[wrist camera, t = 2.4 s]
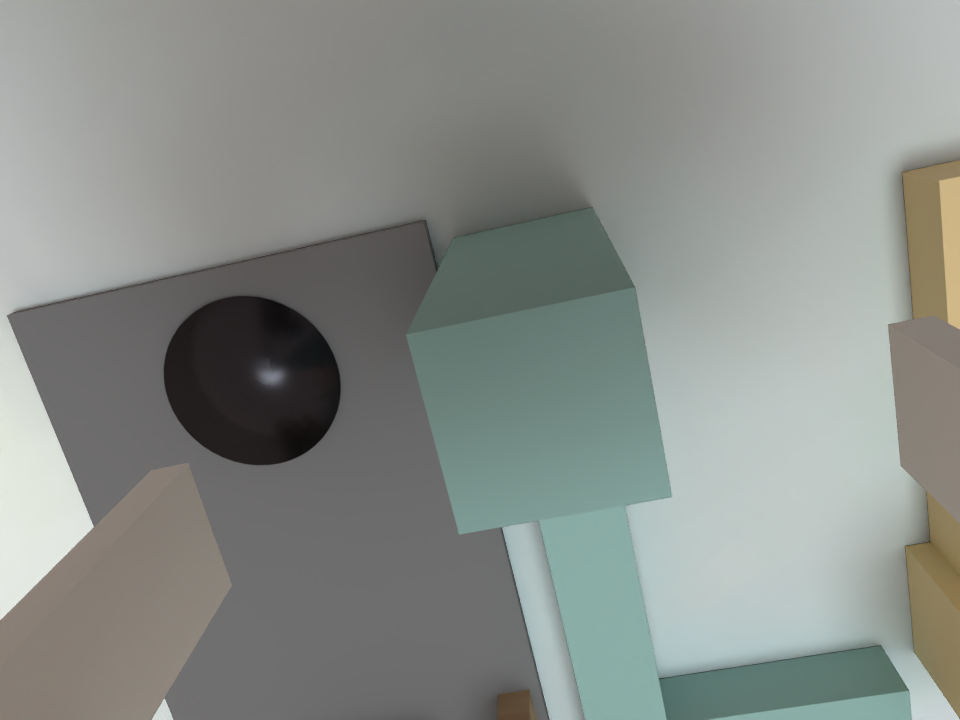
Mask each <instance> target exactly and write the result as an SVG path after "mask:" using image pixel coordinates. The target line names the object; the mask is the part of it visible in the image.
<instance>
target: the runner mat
mask: <svg viewBox="0 0 960 720" xmlns="http://www.w3.org/2000/svg"><path fill="white" fill-rule="evenodd" d="M437 271H438V269H437V265H436V261H435V257H434V253H433V249H432V245H431V241H430V237H429V233H428V229H427V225H426V221H425V220H424V221H419V222H415V223H410V224H406V225H401V226H397V227H392V228H388V229H383V230H379V231H375V232H370V233H366V234H361V235H357V236H352V237H348V238H343V239H339V240H334V241H330V242H326V243H321V244H317V245H312V246H308V247H303V248H299V249H294V250H290V251H285V252H281V253H277V254H272V255H268V256H263V257H259V258H254V259H250V260H245V261H241V262H236V263H232V264H228V265H223V266H219V267H214V268H210V269H205V270H201V271H196V272H192V273H187V274H183V275H179V276H174V277H170V278H165V279H161V280H156V281H152V282H147V283H143V284H138V285H134V286H130V287H125V288H121V289H116V290H112V291H107V292H103V293H98V294H94V295H90V296H85V297H81V298H76V299H72V300H67V301H63V302H58V303H54V304H49V305H45V306H41V307H36V308H32V309H27V310H23V311H18V312H14V313H12V314H9V315H7V317H8V319H9V322H10V324H11V327H12V329H13V331H14V334H15V336H16V339H17V341H18V343H19V346H20V348H21V351H22V353H23V356H24V358H25V360H26V363H27V365H28V368H29V370H30V373H31V375H32V377H33V380H34V382H35V385H36V387H37V390H38V392H39V394H40V397H41V399H42V402H43V404H44V406H45V409H46V411H47V414H48V416H49V419H50V421H51V423H52V426H53V428H54V431H55V433H56V436H57V438H58V440H59V443H60V445H61V448H62V450H63V453H64V455H65V457H66V460H67V462H68V465H69V467H70V469H71V472H72V474H73V477H74V479H75V482H76V484H77V486H78V489H79V491H80V494H81V496H82V499H83V501H84V503H85V506H86V508H87V511H88V513H89V516H90V518H91V520H92V523H93V525H94V527H95V526H96V525H97V524H98V523H99V522H100V521H101V520H102V519H103V518H104V517H105V516H106V515H107V514H108V513H109V512H110V511H111V510H112V509H113V508H114V507H115V506H116V505H117V504H118V503H119V502H120V501H121V500H122V499H123V498H124V497H125V496H126V495H127V494H128V493H129V492H130V491H131V490H132V489H133V488H134V487H135V486H136V485H137V484H138V483H139V482H140V481H141V480H142V479H143V478H144V477H145V476H146V475H147V474H148V473H149V472H150V471H151V470H155V469H160V468H165V467H170V466H175V465H180V464H185V463H188V464H189V467H190V470H191V472H192V475H193V478H194V481H195V484H196V486H197V489H198V492H199V495H200V498H201V500H202V503H203V506H204V509H205V512H206V514H207V517H208V520H209V523H210V525H211V528H212V531H213V534H214V537H215V539H216V542H217V545H218V548H219V551H220V553H221V556H222V559H223V562H224V564H225V567H226V570H227V573H228V576H229V578H230V581H231V584H232V586H231V588H230V589H229V591H228V593H227V594H226V596H225V598H224V599H223V601H222V603H221V604H220V606H219V608H218V609H217V611H216V613H215V614H214V616H213V618H212V619H211V621H210V623H209V624H208V626H207V628H206V629H205V631H204V633H203V634H202V636H201V638H200V639H199V641H198V643H197V644H196V646H195V648H194V649H193V651H192V653H191V654H190V656H189V658H188V659H187V661H186V663H185V664H184V666H183V668H182V669H181V671H180V673H179V674H178V676H177V678H176V679H175V681H174V683H173V684H172V686H171V688H170V689H169V691H168V693H167V694H166V696H165V700H166V702H167V705H168V707H169V709H170V712H171V714H172V717H173V719H174V720H497V716H498V695H499V694H504V693H510V692H517V691H523V690H530V694H531V698H532V701H533V705H534V709H535V713H536V717H537V720H549V716H548V712H547V708H546V704H545V700H544V696H543V692H542V688H541V684H540V680H539V676H538V672H537V668H536V664H535V660H534V656H533V652H532V648H531V644H530V640H529V636H528V632H527V628H526V624H525V620H524V616H523V612H522V607H521V603H520V599H519V595H518V591H517V587H516V583H515V579H514V575H513V571H512V567H511V563H510V559H509V555H508V551H507V547H506V543H505V539H504V535H503V531H502V527H500V528H494V529H488V530H483V531H477V532H471V533H466V534H460V535H459V532H458V529H457V525H456V521H455V517H454V513H453V510H452V506H451V502H450V498H449V495H448V491H447V487H446V483H445V480H444V476H443V472H442V468H441V465H440V461H439V457H438V453H437V450H436V446H435V442H434V438H433V435H432V431H431V427H430V423H429V420H428V416H427V412H426V408H425V405H424V401H423V397H422V393H421V390H420V386H419V382H418V378H417V375H416V371H415V367H414V363H413V360H412V356H411V352H410V348H409V345H408V341H407V337H406V334H407V332H408V330H409V327H410V325H411V323H412V321H413V319H414V317H415V315H416V313H417V311H418V309H419V307H420V305H421V303H422V301H423V299H424V297H425V295H426V293H427V291H428V289H429V287H430V285H431V283H432V281H433V279H434V277H435V275H436V273H437ZM235 296H252V297H261V298H265V299H269V300H273V301H275V302H278V303H281V304H283V305H285V306H287V307H289V308H291V309H293V310H295V311H296V312H298V313H299V314H301V315H302V316H304V317H305V318H306V319H307V320H308V321H309V322H311V323H312V324H313V325H314V326H315V327H316V328H317V330H318V331H319V332H320V333H321V334H322V336H323V337H324V338H325V340H326V341H327V343H328V344H329V346H330V348H331V350H332V352H333V354H334V357H335V359H336V362H337V365H338V369H339V374H340V382H341V396H340V402H339V407H338V411H337V413H336V416H335V419H334V421H333V423H332V425H331V426H330V428H329V430H328V431H327V433H326V434H325V435H324V437H323V438H322V439H321V440H320V441H319V442H318V443H317V444H316V445H315V446H314V447H313V448H312V449H310V450H309V451H308V452H306V453H304V454H303V455H301V456H299V457H297V458H295V459H292V460H290V461H287V462H283V463H279V464H273V465H249V464H243V463H238V462H234V461H231V460H228V459H226V458H223V457H221V456H219V455H217V454H215V453H213V452H211V451H210V450H208V449H207V448H205V447H204V446H202V445H201V444H200V443H198V442H197V441H196V440H195V439H194V438H193V437H192V436H191V435H190V434H189V433H188V432H187V431H186V430H185V429H184V427H183V426H182V425H181V423H180V422H179V421H178V419H177V417H176V416H175V414H174V412H173V410H172V408H171V405H170V403H169V401H168V397H167V394H166V391H165V384H164V361H165V356H166V352H167V348H168V346H169V343H170V341H171V339H172V337H173V335H174V334H175V332H176V330H177V329H178V328H179V326H180V325H181V324H182V323H183V322H184V321H185V320H186V319H187V318H188V317H189V316H190V315H191V314H193V313H194V312H195V311H197V310H199V309H200V308H202V307H203V306H205V305H207V304H209V303H212V302H214V301H217V300H220V299H224V298H229V297H235Z"/></svg>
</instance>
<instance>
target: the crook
mask: <svg viewBox="0 0 960 720" xmlns="http://www.w3.org/2000/svg"><path fill="white" fill-rule="evenodd" d="M406 337H407V341H408V345H409V348H410V352H411V356H412V360H413V363H414V367H415V371H416V375H417V378H418V382H419V386H420V390H421V393H422V397H423V401H424V405H425V408H426V412H427V416H428V420H429V423H430V427H431V431H432V435H433V438H434V442H435V446H436V450H437V453H438V457H439V461H440V465H441V468H442V472H443V476H444V480H445V483H446V487H447V491H448V495H449V498H450V502H451V506H452V510H453V513H454V517H455V521H456V525H457V529H458V532H459V535H460V534H466V533H471V532H477V531H483V530H488V529H494V528H500V527H505V526H511V525H517V524H522V523H528V522H534V521H539V524H540V528H541V532H542V537H543V541H544V545H545V549H546V554H547V558H548V562H549V567H550V571H551V575H552V580H553V584H554V588H555V592H556V597H557V601H558V605H559V610H560V614H561V618H562V622H563V627H564V631H565V635H566V640H567V644H568V648H569V653H570V657H571V661H572V665H573V670H574V674H575V678H576V683H577V687H578V691H579V695H580V700H581V704H582V708H583V713H584V717H585V720H912V716H911V704H910V693H909V689H908V688H907V686H906V685H905V683H904V682H903V680H902V678H901V677H900V675H899V674H898V672H897V670H896V669H895V667H894V666H893V664H892V663H891V661H890V659H889V658H888V656H887V655H886V653H885V651H884V650H883V648H882V647H881V646H875V647H868V648H862V649H855V650H848V651H842V652H835V653H828V654H822V655H815V656H809V657H802V658H795V659H789V660H782V661H775V662H769V663H762V664H755V665H749V666H742V667H735V668H729V669H722V670H715V671H709V672H702V673H695V674H689V675H682V676H676V677H669V678H662V679H659V678H658V673H657V668H656V663H655V658H654V653H653V648H652V642H651V637H650V632H649V627H648V622H647V617H646V612H645V607H644V602H643V597H642V592H641V587H640V582H639V577H638V571H637V566H636V561H635V556H634V551H633V546H632V541H631V536H630V531H629V526H628V521H627V516H626V511H625V505H630V504H636V503H641V502H647V501H653V500H658V499H664V498H670V497H672V493H671V487H670V481H669V476H668V470H667V464H666V459H665V453H664V447H663V442H662V436H661V431H660V425H659V419H658V414H657V408H656V402H655V397H654V391H653V385H652V380H651V374H650V369H649V363H648V357H647V352H646V346H645V340H644V335H643V329H642V323H641V318H640V312H639V306H638V301H637V295H636V290H635V286H634V284H633V282H632V280H631V279H630V277H629V275H628V273H627V271H626V269H625V267H624V266H623V264H622V262H621V260H620V258H619V256H618V254H617V252H616V251H615V249H614V247H613V245H612V243H611V241H610V239H609V237H608V236H607V234H606V232H605V230H604V228H603V226H602V224H601V223H600V221H599V219H598V217H597V215H596V213H595V211H594V209H593V208H592V207H591V208H586V209H582V210H577V211H573V212H568V213H564V214H559V215H555V216H550V217H546V218H541V219H537V220H532V221H527V222H523V223H518V224H514V225H509V226H505V227H500V228H496V229H491V230H487V231H482V232H478V233H473V234H469V235H464V236H460V237H455V238H453V240H452V242H451V244H450V246H449V248H448V250H447V252H446V254H445V256H444V258H443V260H442V262H441V264H440V266H439V269H438V271H437V273H436V275H435V277H434V279H433V281H432V283H431V285H430V287H429V289H428V291H427V293H426V295H425V297H424V299H423V301H422V303H421V305H420V307H419V309H418V311H417V313H416V315H415V317H414V319H413V321H412V323H411V325H410V327H409V330H408V332H407V334H406Z"/></svg>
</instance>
